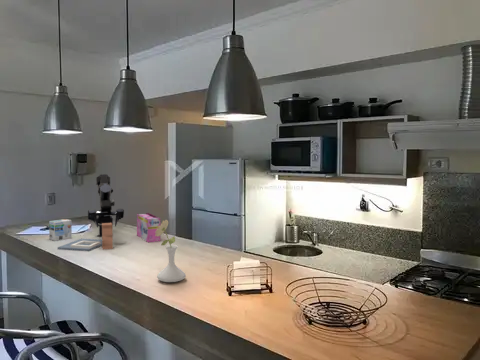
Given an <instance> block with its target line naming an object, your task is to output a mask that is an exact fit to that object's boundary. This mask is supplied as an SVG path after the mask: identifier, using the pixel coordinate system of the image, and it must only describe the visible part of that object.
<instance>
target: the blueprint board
mask: <svg viewBox="0 0 480 360" xmlns="http://www.w3.org/2000/svg"><path fill="white" fill-rule="evenodd" d="M100 247H102V239H93V238H92V239H90V238H79V239H77V240H74V241H71V242H69V243H65V244H63V245H61V246H57V250H65V251H77V252H78V251H80V252H90V251H93V250H96V249H98V248H100Z"/></svg>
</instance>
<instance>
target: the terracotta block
mask: <svg viewBox="0 0 480 360" xmlns="http://www.w3.org/2000/svg"><path fill="white" fill-rule="evenodd" d="M101 240H102V246H101V248H102V250H113V248H114V247H113V241H114V240H113V225H112V223H102V236H101Z"/></svg>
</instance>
